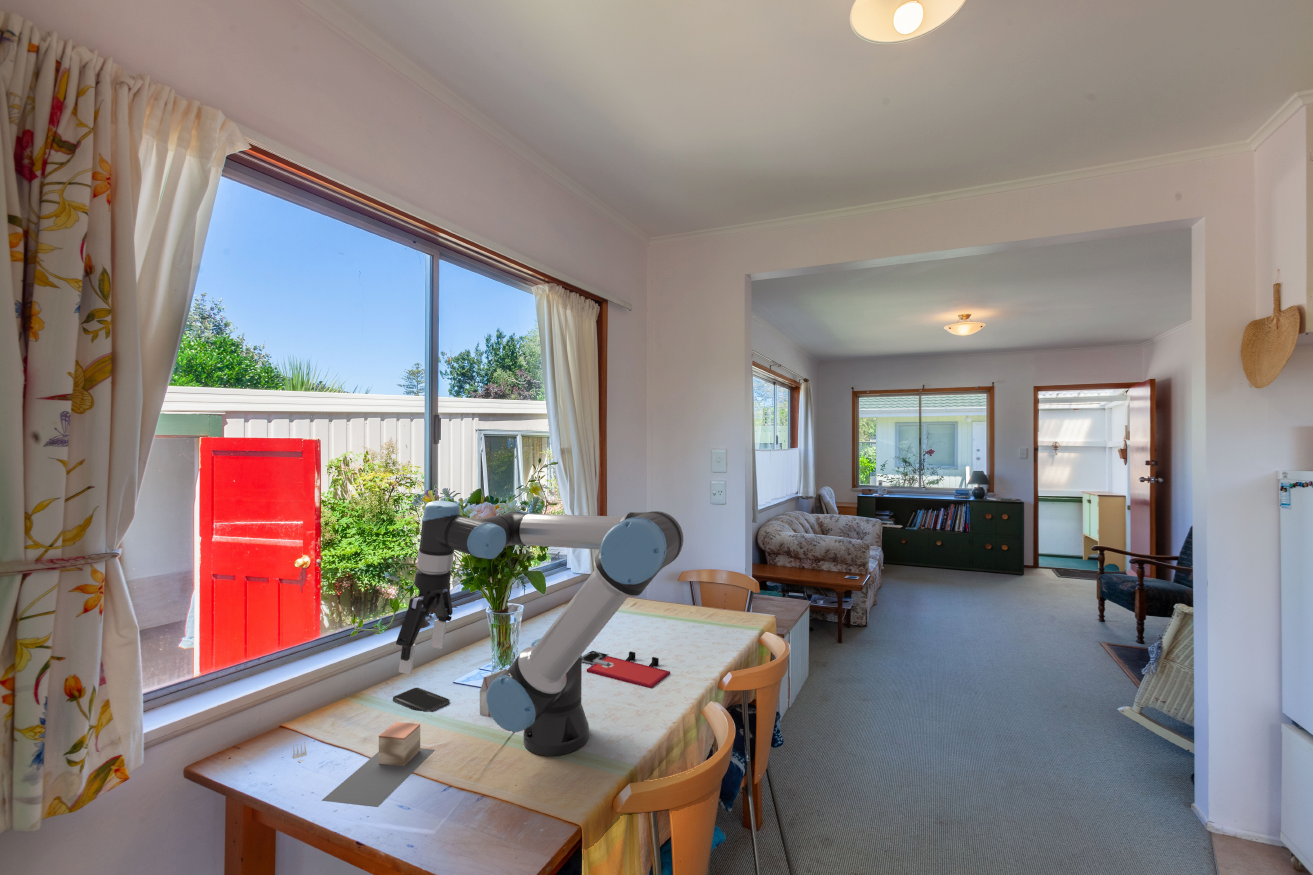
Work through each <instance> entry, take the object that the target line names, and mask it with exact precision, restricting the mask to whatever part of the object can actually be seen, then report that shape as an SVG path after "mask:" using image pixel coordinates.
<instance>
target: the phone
mask: <svg viewBox="0 0 1313 875" xmlns="http://www.w3.org/2000/svg"><path fill="white" fill-rule="evenodd" d="M392 702H394V703H396V704H399V705H401V706H403V707H406V708H408V709H411V710H412V711H415V712H417V711H418V712H424V713H433V712H436V711H437V710H440V709H442V708H443V707H446V706H449V705H450V703H451V701H450V699H449V698H447V697H445V696H442V695H439V694H436V693H434V692H431V691H429V690H426V689H423V688H421V687H413V688H411V689H408V690H406V691H404V692H400V693H398V694H396V695H394V696H392Z"/></svg>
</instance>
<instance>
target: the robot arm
mask: <svg viewBox="0 0 1313 875" xmlns="http://www.w3.org/2000/svg"><path fill="white" fill-rule="evenodd" d="M460 511H461V507H460V505H459V504H457V503H456V502H454V501H453V502H452V501H449V500H432V501H430V502H427V504H426V505H425V507H424V511H423V516H422V519H421V530H420V541H419V542H420V543H419V547H418V552H417V564H416V567H417V569H416V570H415V574H414V575H415V576H414V586H415V588H417V589H418V590H419V592H418V594H417V595H418V596H417V597H410V599H409V602H408V608H407V611H406V614H405V616H404V619H403V621H402V625H401V627H400V630H399V632H398V633H399V634H398V636H397V639H396V641H395V645H396V646H401V651H400V659H399V665H398V666H399V667H398V673H401V674H406V675H409V676H410V675H411V674H413V669H414V660H415V654H416V646H417V644H415V641H416V639H417V637H418V635H419V633H420V632H421V631H420V630H421V629H422V626H423V624H424V622H425V620H426V618H427V617H429V616H430V614H431V612H432V610H433V613H434V615H435V617H436V618H437V619H435V620H434V621H433V630H432V636H431V643H430V644H431V645H430V647H431V648H434V649H440V650H442V649H443V648H444V645H445V644H444V641H445V637H446V629H447V622H451V621H452V615H453V604H452V597H451V578H452V571H451V570H452V569H453V563H454V555H455V551H456V552H461V553H465V554H468V555H470V556H474V557H476V558H480V559H482V558H483V559H487V560H493V559H495V558H497V557H498V556H499V554H501V553H502V552H503V551H504V549H505V547H508V546H532V547H533V546H534V547H552V548H569V549H583V550H584V549H586V550H599V551H598V553H596V555H595V556H594V558H593V565H594V570H593V572H592V573H591V574H590V575H589V577H588V578H586V580H585V581H584V583H583V584H582V585H581V587H580V588H579V589H578V591H577V592H576V593H575V595H574V596H573V597H572V598H571V600H570V601H569V602H568V604H567V605H566V606H565V607H564V609H563V610H562V611H561V612H560V613H559V615H558V617H557V618H556V619H555V620H554V622H553V623H552V624H551V625H550V627H549V628H548V629H547V630H546V632H545V633H544V634H543V635H542V636H541V638H538V639H535V640H533V641H532V643H531V646H529V647H526V648H524V649H523V650H522V651H521V652H520V653H519V655H518V656H517V657H516V658H515V659H514V661H513V662H512V663H511V665H510V666H509V667H508V668H507V671H506V672H505V673H503V674H502V675H499V676H498V677H496V678H495V679H494V681H493V682H491V684H490V685H489V687H488V689H487V694H486V702H487V704H488V706H487V707H488V710H489V713H490V715H491V717H490V718H492V720H493V721H494V722H495V723H496V725H498V726H499V727H500V728H501V729H503V730H505V731H507V732H512V733H519V732H522V731H523V745H524V747H525V748H526V749H527V750H528V751H529V752H531V753H533V754H536V755H540V756H546V757H548V756H549V757H550V756H552V757H553V756H562V755H566V754H570V753H573V752H575V751H578V750H579V749H581V748H582V747H583V746H585V744H586V743H587V742H588V740H589V738H590V726H589V722H588V719H587V716H586V713H585V710H584V706H583V704H582V677H583V676H582V665H583V664H582V662H583V661H582V656H583V653H584V652H585V651H586V650H587V648H588V647H589V646H590V645H591V643H592V642H593V641H594V640H595V639H596V637H597V636H599V634H600V633H601V631H602V630H603V629H604V628H605V626H606V625H607V624H608V623H609V622H610V620H611V619H612V618H613V616H614V615H615V614H616V613H617V611H618V610H619V609H620V608H621V607H622V605H623V604H624V603H625V602H626V601H627V599H628V598H634V597H636V598H637V597H639V596H640V595H641V594H642V593H643V591H644V590H645V589H646V588H647V587H648V586H649V585H650V583H651V582H652V581H653V580H654V579H655V577H656V576H657V575H658V573H659V572H661V571H662V570H663V569H664V568H665V567H667V566H668V565H671V563H673V562H674V561H675V560H676V559H677V558H678V557H679V555H680V554H681V552H682V549H683V546H684V532H683V528H682V526H681V525H680V524H679V521H677V519H675V517H674V516H672V515H671V514H669V513H666V512H664V511H658V510H655V511H654V510H653V511H643V512H638V511H637V512H632V511H630V512H627V513H626V514H625V515H624V516H613V515H612V516H610V515H607V516H606V515H581V514H580V515H579V514H553V513H552V514H550V513H548V514H547V513H527V512H525V511H523V510H519V511H517V510H515V511H513V510H512V511H510V512H506V513H503V514H499V515H492V516H489V517H484V518H480V519H479V518H478V519H476V518H470V517H467V516H465V515H464V516H463V515H460V514H461V512H460Z"/></svg>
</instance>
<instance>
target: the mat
mask: <svg viewBox="0 0 1313 875" xmlns="http://www.w3.org/2000/svg"><path fill="white" fill-rule="evenodd" d="M434 752H435V749H433V748H432V749H431V748H421V747H420V752H419V753H418V754H416V755H415V756H414V757H413V758H412V759H411V760H410V761H409V762H408V763H407V764H406V765H405V766H398V765H388V764H379V751H377V753H375V754H374V755H373V756H371V757H370V758H369V759H368V760H367V761H366V762H365V763H363V764H362V765H361V766H360V767H359V768H358V769H357V770H356V771H354V772H353V773H351V775H349V776H348V777H347V778H346V779H345V780H343V782H341V783H340V784H339V785H338V786H336V787H335V788H334V789H333V790H332V791H331V792H329V793H328V794H327V795H326V796H325V797H324V798H323V799H321V802H322V801H323V802H331V803H340V804H341V803H342V804H348V805H349V804H350V805H358V806H365V807H375V808H378V807H380V805H381V804H383V803H384V802H385V801H386V799H388V797H389V796H391V794H393V793H394V791H396V789H398V788H399V787H400V786H401V785H402V783H403V782H405V780H407V779H408V778H409V777H410V775H412V773H414V771H416V770H417V769H418V768H419V767H420V766H421V765H422V764H423V763H424V762H425V761H426V760H427V759H428V757H429V756H430V755H432V754H433V753H434Z"/></svg>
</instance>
